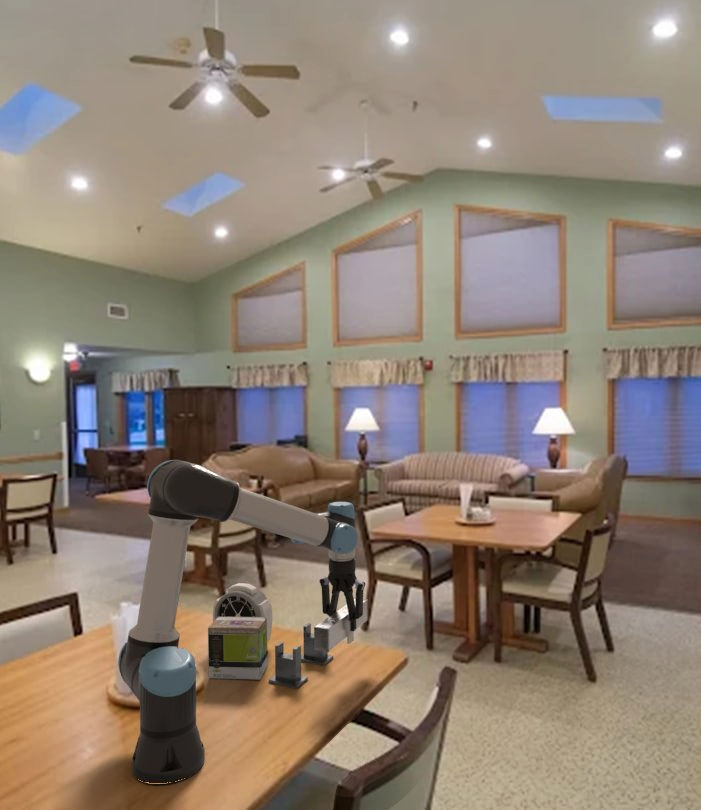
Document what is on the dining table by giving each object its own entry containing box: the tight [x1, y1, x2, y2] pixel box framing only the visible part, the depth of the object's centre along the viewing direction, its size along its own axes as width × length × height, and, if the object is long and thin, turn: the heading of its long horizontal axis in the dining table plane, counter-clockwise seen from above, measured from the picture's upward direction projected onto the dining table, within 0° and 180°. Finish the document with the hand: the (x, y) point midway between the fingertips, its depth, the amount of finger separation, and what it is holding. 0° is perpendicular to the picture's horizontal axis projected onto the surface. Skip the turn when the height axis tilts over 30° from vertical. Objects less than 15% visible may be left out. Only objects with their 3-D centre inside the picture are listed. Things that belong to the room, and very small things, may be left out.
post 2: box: [301, 623, 334, 667], centre depth 190 cm, size 6×9×10 cm, turn 65°
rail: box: [313, 597, 369, 653], centre depth 177 cm, size 26×4×6 cm, turn 155°
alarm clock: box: [212, 582, 273, 643], centre depth 198 cm, size 18×8×20 cm, turn 73°
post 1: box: [268, 641, 309, 690], centre depth 175 cm, size 6×9×10 cm, turn 65°
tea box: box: [207, 617, 269, 681], centre depth 181 cm, size 15×10×15 cm, turn 84°
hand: (342, 640), depth 177 cm, fingers closed on rail, 4 cm apart
